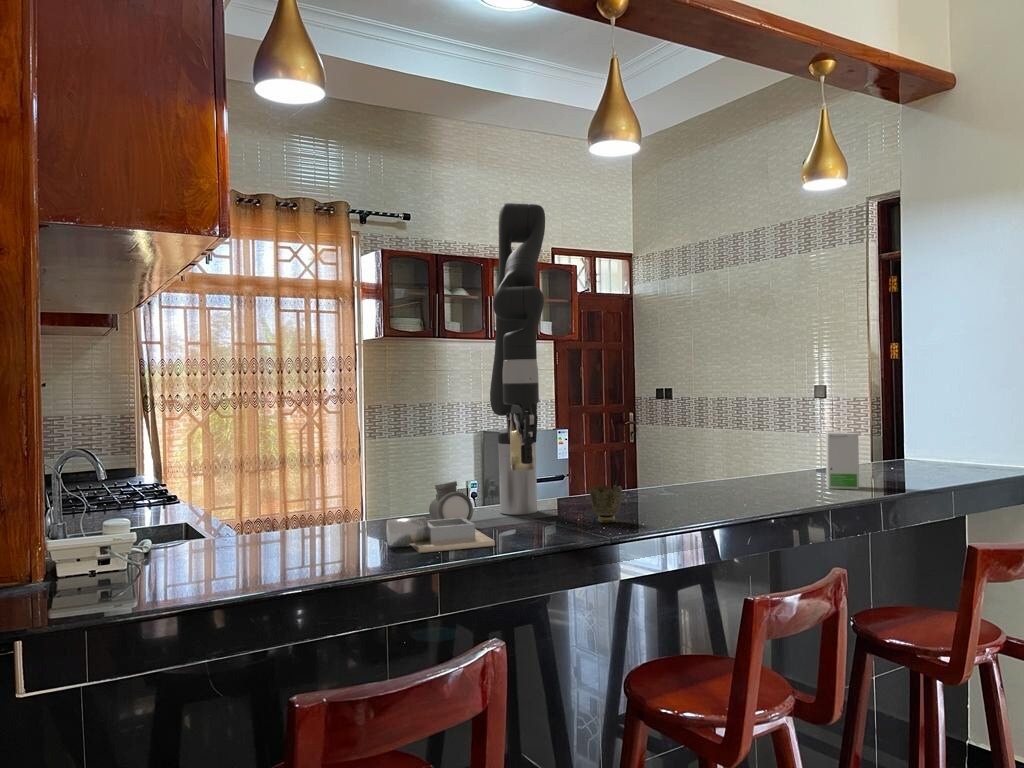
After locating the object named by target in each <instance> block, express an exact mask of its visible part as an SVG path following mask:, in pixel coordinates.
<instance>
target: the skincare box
mask: <svg viewBox="0 0 1024 768" xmlns="http://www.w3.org/2000/svg"><path fill="white" fill-rule="evenodd" d="M824 434H825V477H826V478H825V482H826V483H825V485H826V487H827V489H833V490H835V489H836V490H838V489H839V490H859V489H860V467H859V465H860V464H859V459H860V458H859V449H860V448H859V433H857V432H842V431H841V432H840V431H838V432H837V431H831V432H830V431H827V432H825V433H824Z"/></svg>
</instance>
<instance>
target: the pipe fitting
mask: <svg viewBox="0 0 1024 768" xmlns="http://www.w3.org/2000/svg"><path fill="white" fill-rule="evenodd" d="M457 486H458V482H457V481H456V480H455V481H447V482H442V483H437V484H435V485H434V487H435V488H434V489H435V490H436V493H435V499H433V500H431V503H430V504H429V508H428V512H429V513H428V514H429V515H430V518H431V520H439V519H451V518H463V517H464V518H465V519H467V520H469V521H470V522H471V519H472V517H473V514H474V508H473V503H472V500H471V498H470V497H469V496H468V495H467V494H465V493H463V492H459V491H457V490H458V489H457Z"/></svg>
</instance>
